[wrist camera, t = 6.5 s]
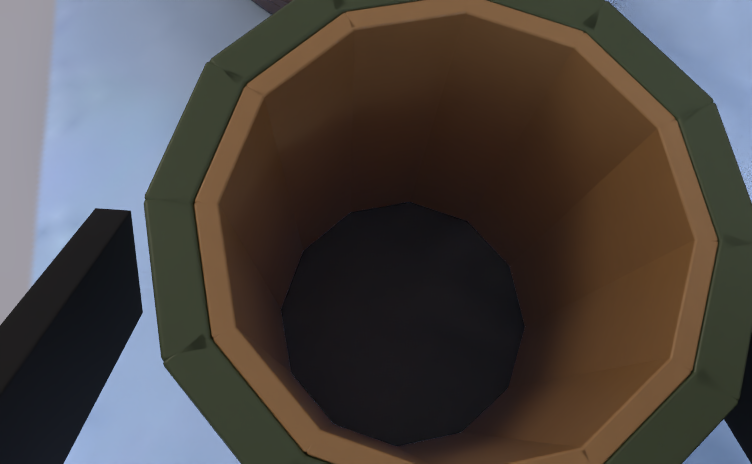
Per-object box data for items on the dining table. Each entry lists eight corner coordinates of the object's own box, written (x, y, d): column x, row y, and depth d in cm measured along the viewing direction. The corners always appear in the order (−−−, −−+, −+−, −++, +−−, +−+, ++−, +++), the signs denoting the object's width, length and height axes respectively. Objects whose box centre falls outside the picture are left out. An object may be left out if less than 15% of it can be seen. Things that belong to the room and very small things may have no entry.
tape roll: (414, 117, 23) (470, -130, 13) (620, 333, 22) (880, 253, 11) (182, 302, 21) (23, 188, 11) (390, 558, 20) (442, 721, 9)
